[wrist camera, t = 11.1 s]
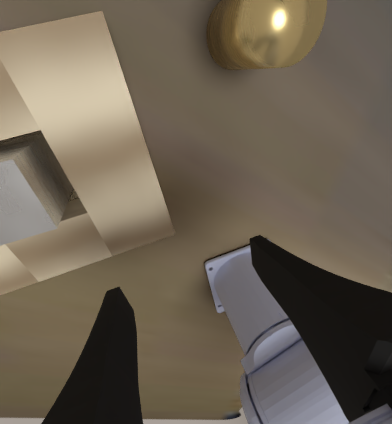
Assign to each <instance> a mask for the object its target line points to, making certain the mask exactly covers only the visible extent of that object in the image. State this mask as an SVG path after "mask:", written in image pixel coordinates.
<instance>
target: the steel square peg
mask: <svg viewBox="0 0 392 424" xmlns="http://www.w3.org/2000/svg"><path fill="white" fill-rule="evenodd" d="M72 191H73V186H72V184H71V183H70V181H69V179H68V177H67V176H66V174H65V172H64V170H63V169H62V167H61V165H60V163H59V162H58V160H57V158H56V156H55V154H54V153H53V151H52V149H51V147H50V146H49V144H48V142H47V140H46V139H45V137H44V135H43V133H41V134H37V135H33V136H28V137H24V138H20V139H16V140H11V141H7V142H3V143H0V246H1V245H4V244H7V243H11V242H14V241H17V240H21V239H24V238H28V237H31V236H34V235H38V234H41V233H44V232H48V231H51V230H54V229H57V228H58V226H59V223H60V221H61V218H62V216H63V213H64V211H65V208H66V206H67V203H68V201H69V198H70V196H71V193H72Z"/></svg>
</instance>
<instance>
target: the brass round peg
mask: <svg viewBox="0 0 392 424" xmlns="http://www.w3.org/2000/svg"><path fill="white" fill-rule="evenodd" d="M326 9H327V0H222V1H220V2H219V3H218V4H217V6H216V7H215V8H214V10H213V11H212V13H211V16H210V18H209V21H208V25H207V44H208V48H209V51H210V54H211V56H212V58H213V59H214V60H215V62H216V63H217V64H218V65H220V66H221V67H223V68H225V69H228V70H243V69H263V68H283V67H289V66H291V65H294V64H296V63H297V62H299V61H300V60H302V59H303V58H304V57H305V56H306V55H307V54H308V53H309V52H310V50H311V49H312V48H313V46H314V45H315V43H316V41H317V39H318V37H319V35H320V33H321V30H322V27H323V24H324V20H325V16H326Z"/></svg>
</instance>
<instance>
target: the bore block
mask: <svg viewBox="0 0 392 424" xmlns="http://www.w3.org/2000/svg"><path fill="white" fill-rule="evenodd" d="M38 130H41V132H42V133H43V135H44V137H45V139H46V140H47V142H48V144H49V146H50V147H51V149H52V151H53V153H54V154H55V156H56V158H57V160H58V162H59V163H60V165H61V167H62V169H63V170H64V172H65V174H66V176H67V177H68V179H69V181H70V183H71V184H72V186H73V188H74V190H75V191H76V193H77V195H78V197H79V198H77V199H74V200H71V201H68V203H67V206H66V208H65V211H64V213H63V216H62V218H61V221H60V223H59V226H58V228H57V229H54V230H51V231H48V232H44V233H41V234H38V235H34V236H31V237H28V238H24V239H21V240H17V241H14V242H11V243H7V244H4V245H1V246H0V295H3V294H5V293H8V292H11V291H14V290H17V289H20V288H23V287H25V286H28V285H31V284H34V283H37V282H40V281H43V280H46V279H48V278H51V277H54V276H57V275H60V274H63V273H66V272H69V271H71V270H74V269H77V268H80V267H83V266H86V265H89V264H92V263H94V262H97V261H100V260H103V259H106V258H109V257H112V256H114V255H117V254H120V253H123V252H126V251H129V250H132V249H135V248H137V247H140V246H143V245H146V244H149V243H152V242H155V241H158V240H160V239H163V238H166V237H169V236H172V235H175V231H174V228H173V225H172V222H171V219H170V216H169V213H168V209H167V206H166V203H165V200H164V197H163V194H162V191H161V188H160V185H159V182H158V179H157V176H156V173H155V170H154V167H153V164H152V161H151V158H150V155H149V152H148V149H147V146H146V143H145V139H144V136H143V133H142V130H141V127H140V124H139V121H138V118H137V115H136V112H135V109H134V106H133V103H132V100H131V97H130V94H129V91H128V88H127V85H126V82H125V79H124V76H123V73H122V70H121V66H120V63H119V60H118V57H117V54H116V51H115V48H114V45H113V42H112V39H111V36H110V33H109V30H108V27H107V24H106V21H105V18H104V15H103V12H102V11H99V12H94V13H89V14H84V15H79V16H75V17H70V18H65V19H60V20H55V21H50V22H46V23H41V24H36V25H31V26H26V27H22V28H17V29H12V30H7V31H2V32H0V141H1V140H4V139H8V138H12V137H16V136H20V135H23V134H27V133H31V132H35V131H38Z"/></svg>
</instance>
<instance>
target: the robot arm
mask: <svg viewBox="0 0 392 424" xmlns="http://www.w3.org/2000/svg"><path fill="white" fill-rule="evenodd" d="M210 267H211V268H210ZM205 269H206V272H207V276H208V280H209V284H210V288H211V292H212V295H213V299H214V303H215V307H216V310H217V312H218V313H221V312H224V311H225V312H226V314H227V317H228V319H229V321H230V323H231V325H232V328H233V330H234V332H235V334H236V337H237V339H238V341H239V343H240V345H241V348H242V350H243V352H244V354H245V357H244V358H243V359H241V363H242V366H243V368H244V370H245V373H243V375H242V376H241V379H240V398H241V403H242V407H243V410H244V413H245V416H246V419H247V421H248V424H392V293H391V292H388V291H384V290H380V289H377V288H373V287H370V286H367V285H364V284H361V283H358V282H355V281H352V280H349V279H346V278H343V277H341V276H338V275H335V274H333V273H331V272H328V271H326V270H323V269H321V268H319V267H317V266H315V265H312V264H310V263H308V262H306V261H304V260H302V259H300V258H299V257H297V256H295V255H293V254H291V253H289V252H288V251H286V250H284V249H282V248H281V247H279V246H277V245H276V244H274V243H272V242H271V241H270V240H269V239H266V238H264V237H262V236H261V235H259V236H256V237H253V238H250V245H249V246H246V247H244V248H241V249H238V250H236V251H233V252H230V253H227V254H225V255H222V256H219V257H217V258H214V259H211V260H209V261H207V262H206V263H205ZM42 424H143V420H142V413H141V404H140V396H139V387H138V363H137V331H136V323H135V316H134V310H133V309H132V307H131V305H130V304H129V302H128V300H127V299H126V297H125V295H124V294H123V292H122V290H121V289H120V287H117V288H114V289H111V290H109V291H107V292H106V294H105V297H104V300H103V303H102V305H101V308H100V311H99V313H98V316H97V319H96V321H95V323H94V326H93V328H92V331H91V333H90V336H89V338H88V340H87V342H86V344H85V347H84V349H83V351H82V353H81V355H80V357H79V359H78V361H77V363H76V365H75V367H74V369H73V371H72V373H71V375H70V377H69V379H68V380H67V382H66V384H65V386H64V388H63V389H62V391H61V393H60V394H59V396H58V398H57V399H56V401H55V403H54V405H53V406H52V408H51V409H50V411H49V413H48V414H47V416H46V417H45V419H44V420H43V422H42Z"/></svg>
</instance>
